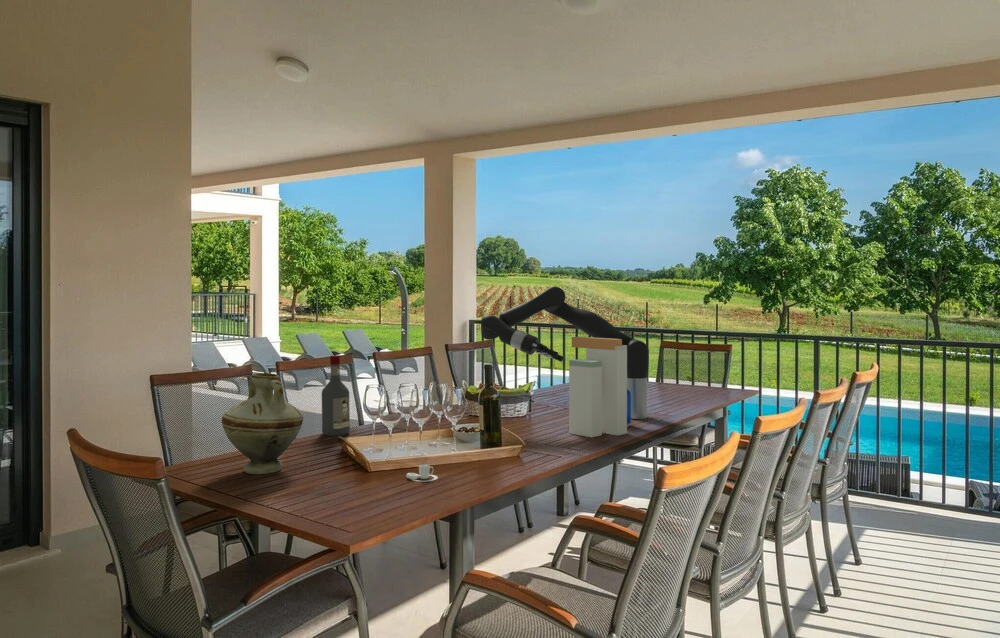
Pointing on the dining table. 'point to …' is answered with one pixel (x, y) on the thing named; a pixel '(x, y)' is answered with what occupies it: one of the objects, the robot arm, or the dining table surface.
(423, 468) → the teacup and saucer
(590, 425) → the green-topped post
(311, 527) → the dining table surface
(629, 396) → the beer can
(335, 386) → the liquor
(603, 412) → the white post
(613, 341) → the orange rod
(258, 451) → the amphora
